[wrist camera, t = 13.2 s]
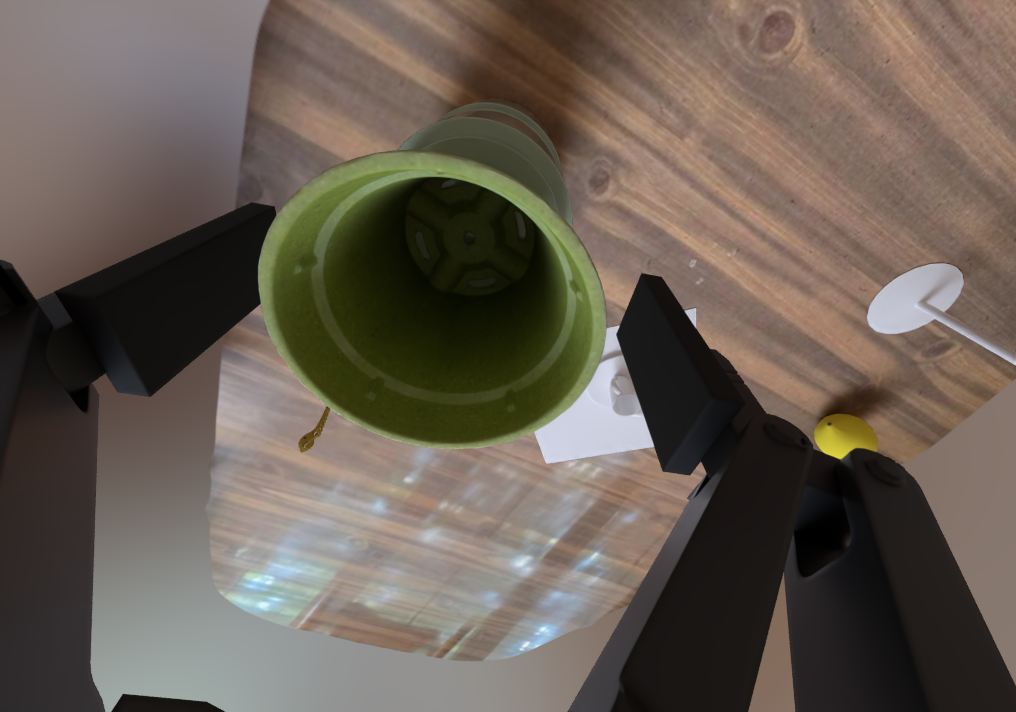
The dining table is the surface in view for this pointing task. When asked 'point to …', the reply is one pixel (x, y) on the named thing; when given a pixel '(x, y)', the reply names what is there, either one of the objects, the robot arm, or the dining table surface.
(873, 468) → the robot arm
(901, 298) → the wineglass
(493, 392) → the plant pot
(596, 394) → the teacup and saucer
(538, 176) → the cup stack
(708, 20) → the dining table surface
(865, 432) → the lemon
